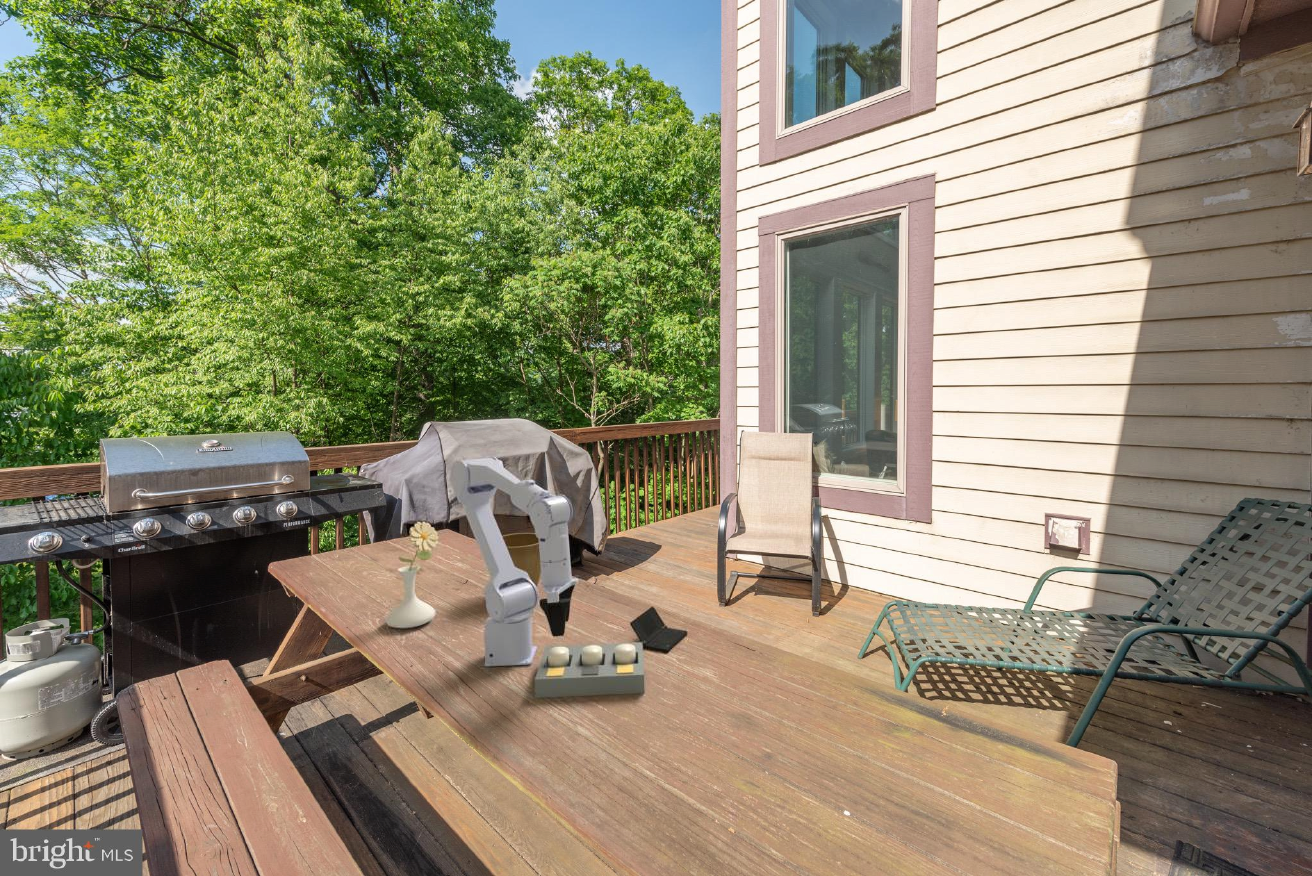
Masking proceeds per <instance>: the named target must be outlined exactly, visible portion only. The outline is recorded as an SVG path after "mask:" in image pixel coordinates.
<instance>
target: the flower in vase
mask: <svg viewBox="0 0 1312 876" xmlns="http://www.w3.org/2000/svg"><path fill="white" fill-rule="evenodd" d="M438 535H439V534H438V532H437V530H435V527H432V526H431V524H430V523H428V522H425V521H422V522H420V521H417V522H416V523H414V525H413V526H411V527H410V528H409V535H408V537H409V539H410V541H409V542H410V544H412V547H414V548H415V549H416V552H415V555H414V556H413V560H412V559H410V558H404V557H401V556H399V557H398V559H399V561H400V562H402V563H403V562H404V563H410V565H406V566H403V567H400V568H397V572H398V574H399V575H400V576H401V577H402V580H403V581H402V582H403V586H404V597H403V599H402V601H401V602H400V603H398V605H396V606H395V607H394V608H393V609H392V610H391V611H390V612H389V613H388V614H387V616H386V617H385V623H386V624H387V625H388V627H391V628H397V629H408V628H409V629H410V628H416V627H418V626H419V627H420V626H422V625H425V624H427V623H428V622H430V621H432V620H433V619H434V618H435V616H436V610H435V608H433V607H432V606H431V605H430V604H428V603H426V602H424V601H423V600H420V599H419V598H418V597H417V595H416V592H415V591H416V589H415V585H416V584H415V583H416V576H417V573H418V571H419V570H420V566H419V565H413V564H414V562H415V560H416V557H417V558H418V559H420V560H421V561H427V560H429V559H430V558H432V557H433V553H431V552H432V550H433V548H436V547H437V545H438V544H439V542H438V541H439V536H438Z"/></svg>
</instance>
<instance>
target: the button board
mask: <svg viewBox="0 0 1312 876" xmlns="http://www.w3.org/2000/svg"><path fill="white" fill-rule="evenodd" d="M621 644H631V645H634V646H635V655H636V664H617V665H615V647H616V646H618V645H621ZM590 645H597V646H600V647H601V648H602V665H594V666H582V652H581V650H582V648H584V647H586V646H590ZM554 647H566V648H568V649H569V667H548V651H549V650H550V649H551V648H554ZM644 663H645V662H644V649H643V644H642V642H641V641H638V642H618V643H617V642H615V643H593V644H592V643H591V644H589V643H588V644H572V645H571V644H570V645H569V644H568V645H564V644H563V645H546V646H545V648H544V650H543V654H542V656H541V659H540V662H539V665H538V668H537V670H536V671H537V672H536V674H535V677H534V698H535V699H543V698H544V699H545V698H565V697H585V696H589V697H590V696H606V695H605V694H613V695H628V694H630V695H631V694H645V690H646V689H645V669H644V668H645V666H644V665H645V664H644Z"/></svg>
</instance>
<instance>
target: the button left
mask: <svg viewBox="0 0 1312 876" xmlns="http://www.w3.org/2000/svg"><path fill="white" fill-rule="evenodd" d="M548 667H569V649H568V648H566V647H554V648H551V649H550V650H549V651H548Z"/></svg>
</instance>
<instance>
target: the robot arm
mask: <svg viewBox="0 0 1312 876" xmlns="http://www.w3.org/2000/svg"><path fill="white" fill-rule="evenodd" d="M449 473H450V474H449V481H450V484H451V487H452V489H453V491H454V494H455V498H457V499H456V500H457V501H458V503H460V504H461V505H462V508H463V511H464V514H465V516H466V519H467V522H468V523H469V526H470V529H471V531H472V534H473V536H474V539H475V541H476V544H477V546H478V548H479V551H480V554H481V556H482V558H483V562H484V565H485V567H486V569H487V571H488V574H489V576H490V578H489V580H488V581H487V583H486V584H485V586H484V589H483V590H482V591H483V594H484V598H485V607H486V611H487V614H488V615H489V617H487V619H486V620H485V624H484V633H483V635H484V637H483V638H484V660H485V662H484V666H485V667H499V666H501V667H502V666H503V667H504V666H527V665H531V664H532V662H533V659H534V658H535V655H536V653H537V648H538V646H536V645H533V634H532V633H533V632H532V615H533V614H534V613H535V610H534V609H535V608H537V606H538V605H539V608H540V609H541V610H542V611H543V613H544V615H545V617H546V619H547V623H548V626H549V630H550V632H551V635H552V637H563V636H564V635H565V630H566V623H567V622H569V619H570V611H571V601H572V595H573V592H574V590H575V587H576V585H578V584H579V578H572V566H571V554H570V553H571V552H570V551H571V550H570V540H569V528H568V523H570V522H571V520H572V518H573V515H574V508H573V505H572V502H571V500H570V499H569V498H568V497H566V495H565V494H556V495H555V494H551V492H550V491H549V490H545V489H544V488H543V487H541V486H539V485H538V484H536V481H535V480H533V479H532V478H531V479H523V480H520V479H519V478H518V477H516V476H515V475H514V474H512V473H511V472H510V471H509V470H507V469H506V468H505V467H504V463H503V461H502V460H500V459H498V458H497V457H495V456H489V457H483V458H473V459H466V460H464V459H463V460H462V459H458V460H455V461H454V462H453V463H452V465H451V467H450V472H449ZM498 489H499V490H500V491H502V492H503V493H505V494H507V495H509V496H510V501H511V503H512V504H513V505H514V506H515V507H516V508H518V509H519V510H521V511H523V513H526V514H527V515H528V516H529V519H530V522H531V524H532V526H533V528H534V533H535V535H536V536H537V538H539V551H540V563H541V575H540V576H541V585H540V587H541V589H542V590H543V592H545V594H546V598H540V595H539V594H540V593H539V590H538V586H537V587H536V586H535V584H534V583H533V582H532V581H531V580H530V578H529V576H528V573H527V572H525V571H523V570H520V569H518V568H516V567H514V564H513V562H512V559H511V557H510V555H509V552H508V550H507V547H506V545H505V542H504V540H503V538H502V536H503V535H502V533H501V530H500V528H499V526H498V523H497V521H496V519H495V516H494V514H493V510H492V509H491V506H490V504H489V502H490V500H491V499H492V498H493V497H494V496H495V494H496V492H497V490H498Z"/></svg>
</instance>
